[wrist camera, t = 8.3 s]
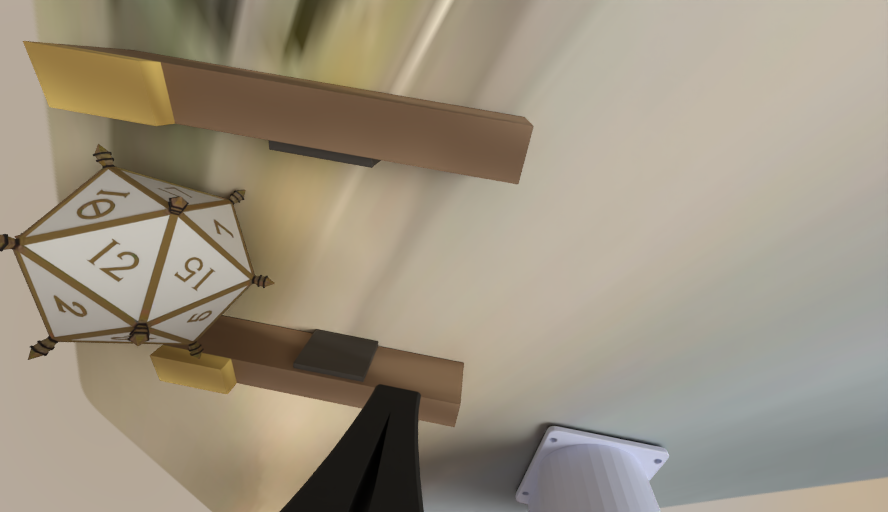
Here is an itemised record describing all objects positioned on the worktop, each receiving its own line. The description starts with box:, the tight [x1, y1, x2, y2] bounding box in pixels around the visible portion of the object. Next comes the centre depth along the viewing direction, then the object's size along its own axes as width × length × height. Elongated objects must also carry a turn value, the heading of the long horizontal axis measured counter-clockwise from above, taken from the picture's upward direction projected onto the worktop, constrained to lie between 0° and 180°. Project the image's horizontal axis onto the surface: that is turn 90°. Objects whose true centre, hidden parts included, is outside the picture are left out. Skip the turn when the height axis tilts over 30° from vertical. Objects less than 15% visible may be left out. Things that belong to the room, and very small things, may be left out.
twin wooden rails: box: [23, 41, 533, 427], centre depth 16 cm, size 16×17×4 cm
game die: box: [0, 144, 275, 360], centre depth 14 cm, size 9×8×10 cm
